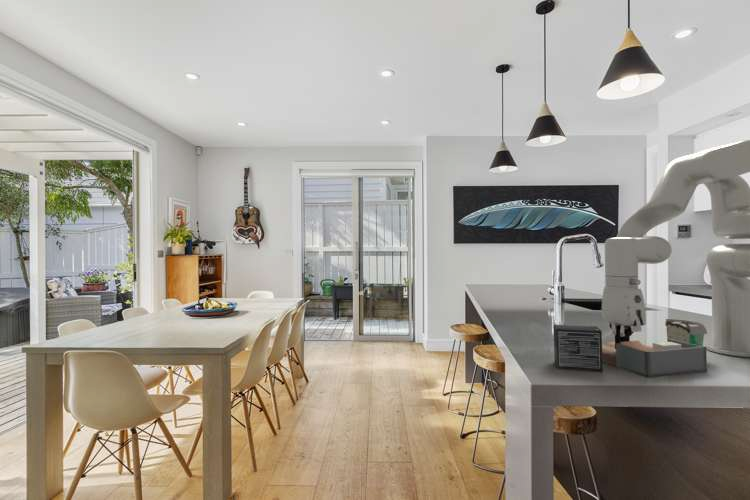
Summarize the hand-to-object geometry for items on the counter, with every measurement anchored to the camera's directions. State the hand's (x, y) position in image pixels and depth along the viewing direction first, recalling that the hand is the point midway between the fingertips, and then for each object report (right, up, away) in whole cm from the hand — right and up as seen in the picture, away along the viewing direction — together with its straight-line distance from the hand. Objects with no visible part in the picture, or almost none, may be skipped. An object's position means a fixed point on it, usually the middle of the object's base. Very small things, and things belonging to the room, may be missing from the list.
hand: (622, 349), depth 102 cm
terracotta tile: (0, -1, -4) cm, 4 cm away
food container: (+20, -3, +1) cm, 20 cm away
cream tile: (+7, 0, -4) cm, 9 cm away
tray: (+5, -3, -7) cm, 9 cm away
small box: (-14, -4, -4) cm, 16 cm away
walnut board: (+3, -3, +4) cm, 6 cm away
